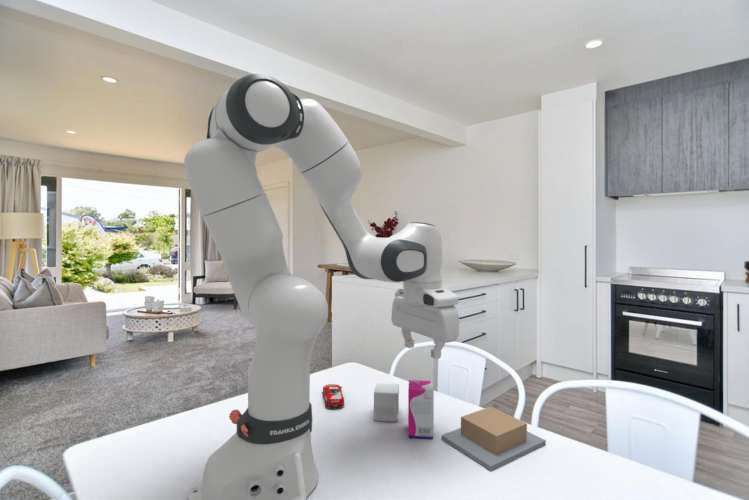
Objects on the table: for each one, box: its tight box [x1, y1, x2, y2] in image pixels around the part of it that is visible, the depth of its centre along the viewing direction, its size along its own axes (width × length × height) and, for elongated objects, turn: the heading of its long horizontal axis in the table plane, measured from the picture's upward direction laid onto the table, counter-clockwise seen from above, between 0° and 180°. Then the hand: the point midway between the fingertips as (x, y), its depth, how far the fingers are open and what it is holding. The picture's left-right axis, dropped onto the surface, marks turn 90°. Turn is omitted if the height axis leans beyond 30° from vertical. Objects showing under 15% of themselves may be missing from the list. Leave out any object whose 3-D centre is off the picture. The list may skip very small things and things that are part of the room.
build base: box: [440, 406, 547, 472], centre depth 87 cm, size 18×14×5 cm
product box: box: [373, 383, 400, 423], centre depth 99 cm, size 6×6×7 cm
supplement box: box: [407, 379, 435, 440], centre depth 91 cm, size 6×6×12 cm
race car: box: [322, 383, 345, 409], centre depth 109 cm, size 13×5×4 cm, turn 10°
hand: (422, 352), depth 91 cm, fingers open, 8 cm apart
